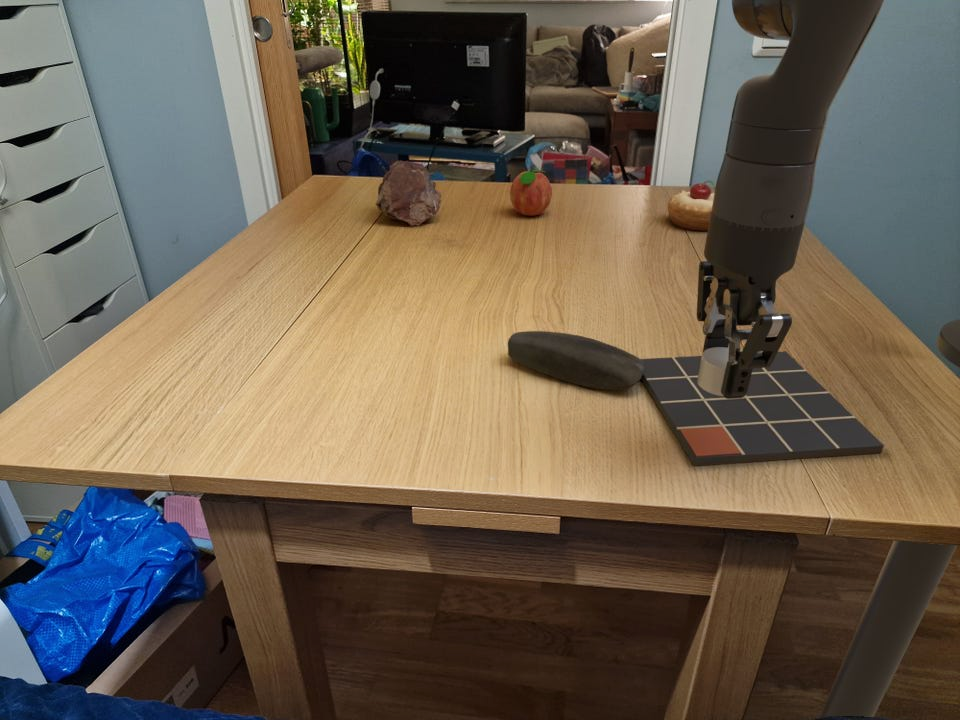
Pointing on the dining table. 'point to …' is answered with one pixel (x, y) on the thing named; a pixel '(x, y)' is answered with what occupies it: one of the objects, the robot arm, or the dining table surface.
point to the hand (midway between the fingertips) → (721, 381)
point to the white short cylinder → (713, 369)
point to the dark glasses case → (576, 359)
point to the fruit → (531, 192)
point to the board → (755, 415)
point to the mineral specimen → (408, 193)
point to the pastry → (692, 207)
